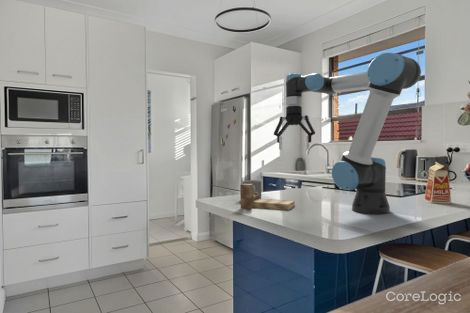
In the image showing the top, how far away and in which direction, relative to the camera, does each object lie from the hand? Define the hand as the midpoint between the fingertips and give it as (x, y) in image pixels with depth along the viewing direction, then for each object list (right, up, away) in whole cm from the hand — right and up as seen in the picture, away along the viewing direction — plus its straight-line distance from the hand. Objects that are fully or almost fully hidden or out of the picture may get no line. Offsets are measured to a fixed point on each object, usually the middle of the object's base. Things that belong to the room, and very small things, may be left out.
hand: (294, 149), depth 159 cm
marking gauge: (-21, -27, -5) cm, 35 cm away
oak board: (-13, -27, -6) cm, 31 cm away
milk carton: (+72, -26, +2) cm, 77 cm away
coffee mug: (-20, -27, +11) cm, 35 cm away
